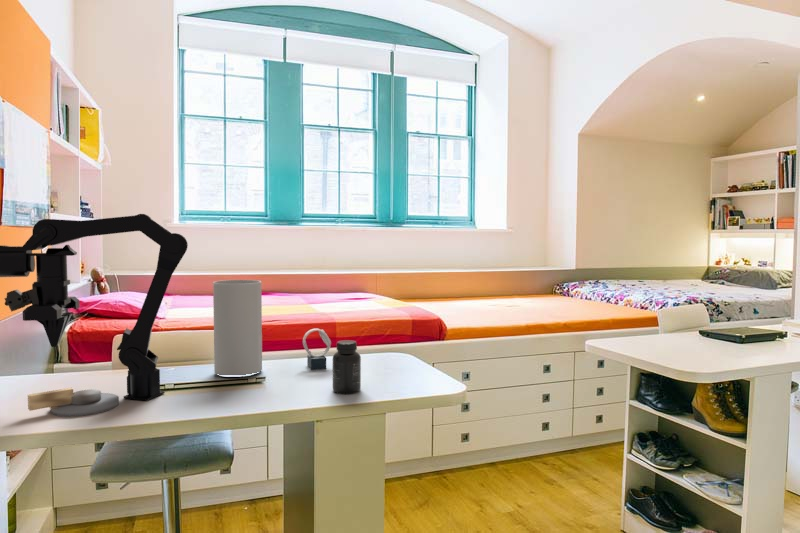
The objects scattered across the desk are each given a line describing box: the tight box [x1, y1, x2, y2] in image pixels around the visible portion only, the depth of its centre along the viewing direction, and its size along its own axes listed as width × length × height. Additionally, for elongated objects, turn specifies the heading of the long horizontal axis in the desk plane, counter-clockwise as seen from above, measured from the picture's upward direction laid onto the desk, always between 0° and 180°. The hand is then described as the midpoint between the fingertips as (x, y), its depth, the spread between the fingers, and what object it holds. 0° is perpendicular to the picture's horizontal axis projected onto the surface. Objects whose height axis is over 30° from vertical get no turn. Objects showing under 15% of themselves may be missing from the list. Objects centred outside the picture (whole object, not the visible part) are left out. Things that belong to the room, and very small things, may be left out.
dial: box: [27, 387, 102, 411], centre depth 120 cm, size 14×6×3 cm, turn 133°
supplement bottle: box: [332, 339, 362, 395], centre depth 136 cm, size 7×7×12 cm
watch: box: [302, 328, 332, 371], centre depth 159 cm, size 6×8×11 cm
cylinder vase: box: [212, 279, 263, 375], centre depth 151 cm, size 12×12×25 cm
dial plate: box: [49, 392, 120, 418], centre depth 122 cm, size 13×13×1 cm
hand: (54, 346), depth 123 cm, fingers closed
